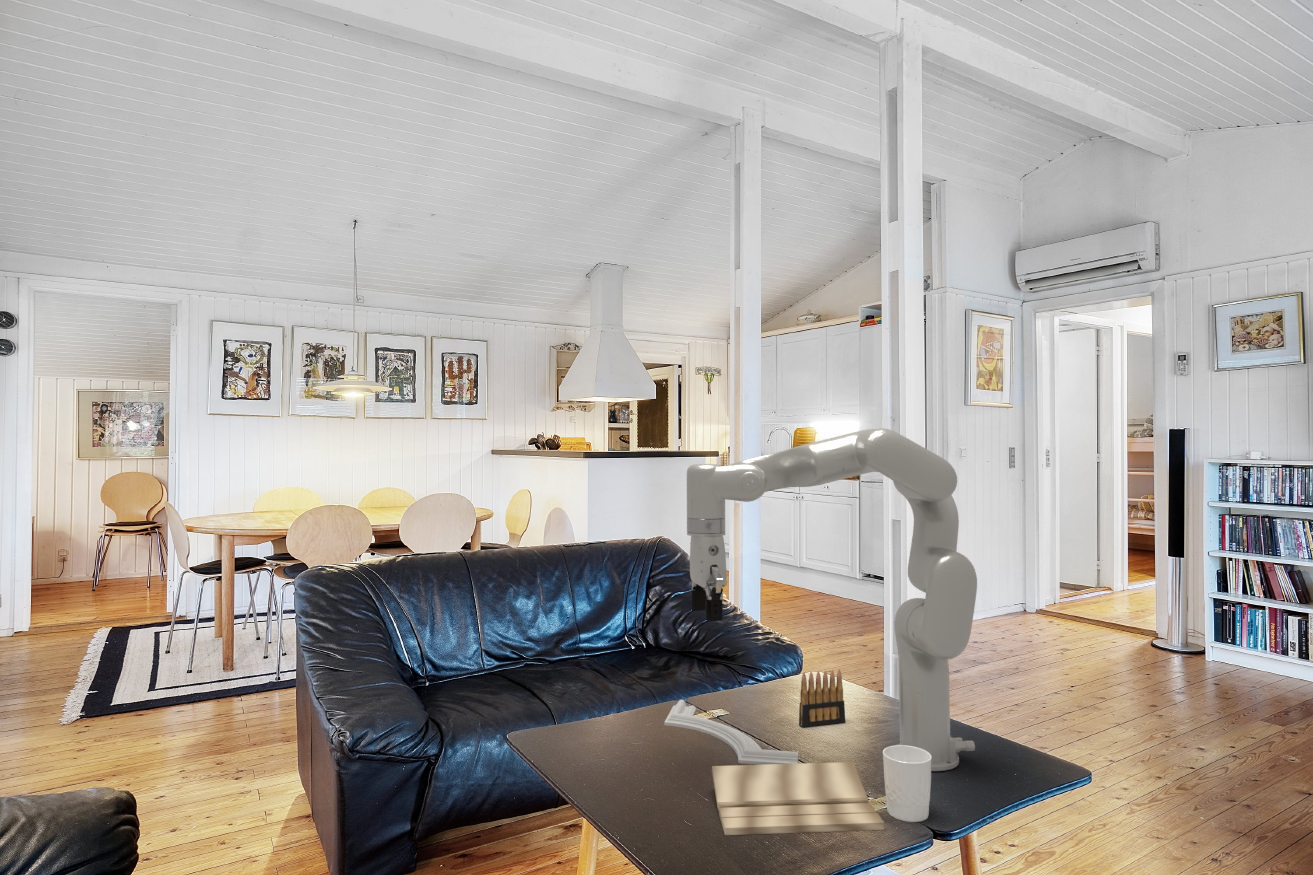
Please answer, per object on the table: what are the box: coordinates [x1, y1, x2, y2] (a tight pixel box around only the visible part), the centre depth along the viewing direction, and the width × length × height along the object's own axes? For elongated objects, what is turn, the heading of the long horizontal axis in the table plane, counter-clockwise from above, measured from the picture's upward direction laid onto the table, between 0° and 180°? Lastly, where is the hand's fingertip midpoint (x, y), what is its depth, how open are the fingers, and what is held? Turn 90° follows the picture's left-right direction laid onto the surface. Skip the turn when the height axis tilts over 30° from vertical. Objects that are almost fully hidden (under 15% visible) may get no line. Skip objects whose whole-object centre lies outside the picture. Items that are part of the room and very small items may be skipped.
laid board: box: [718, 802, 885, 836], centre depth 127 cm, size 26×7×1 cm, turn 93°
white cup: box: [882, 744, 932, 823], centre depth 131 cm, size 8×8×10 cm
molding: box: [663, 699, 799, 765], centre depth 166 cm, size 42×12×3 cm, turn 34°
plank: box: [711, 761, 870, 812], centre depth 136 cm, size 26×9×1 cm, turn 93°
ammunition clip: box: [798, 668, 846, 729], centre depth 173 cm, size 11×2×12 cm, turn 106°
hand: (706, 615), depth 150 cm, fingers open, 9 cm apart
